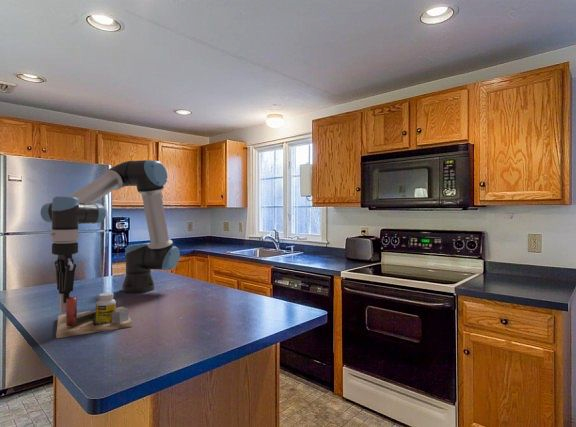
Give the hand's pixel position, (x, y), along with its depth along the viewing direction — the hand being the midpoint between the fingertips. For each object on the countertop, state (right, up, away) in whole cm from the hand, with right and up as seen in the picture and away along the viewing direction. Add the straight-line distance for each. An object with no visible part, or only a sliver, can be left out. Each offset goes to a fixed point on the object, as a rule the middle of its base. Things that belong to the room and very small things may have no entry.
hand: (64, 311), depth 119 cm
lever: (+6, -4, +4) cm, 8 cm away
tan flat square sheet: (+6, -6, +7) cm, 11 cm away
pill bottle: (+11, -6, +5) cm, 14 cm away
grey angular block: (+17, -6, +4) cm, 18 cm away
